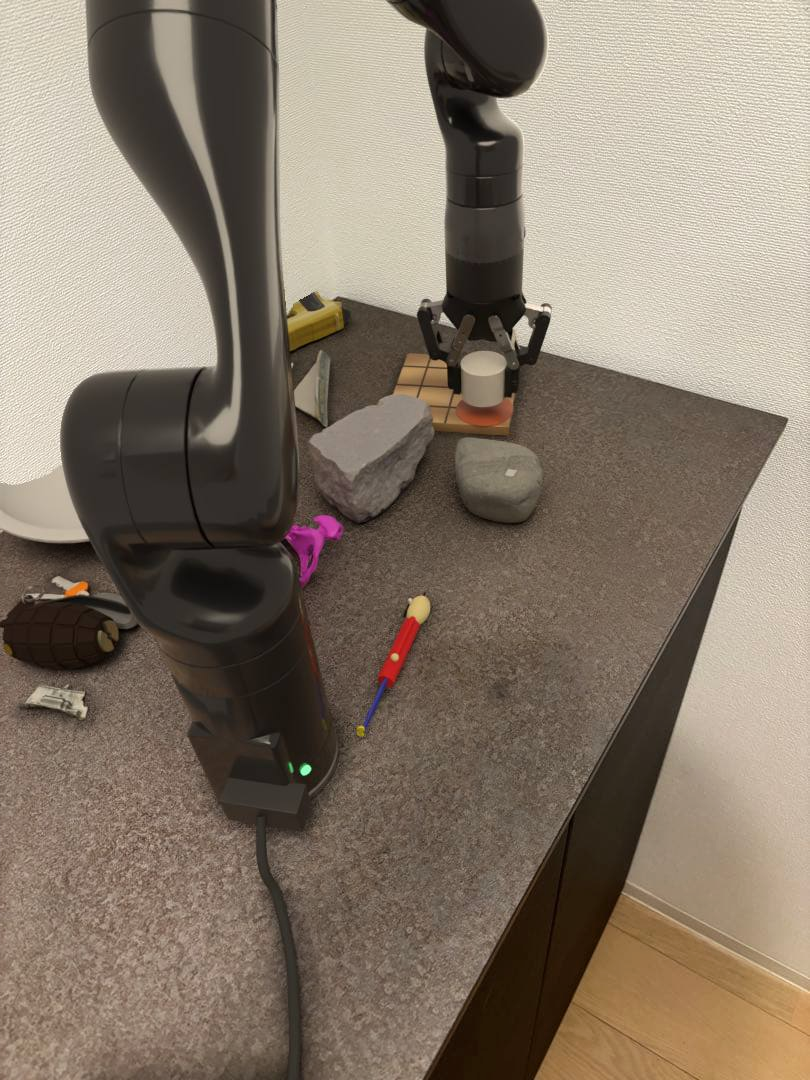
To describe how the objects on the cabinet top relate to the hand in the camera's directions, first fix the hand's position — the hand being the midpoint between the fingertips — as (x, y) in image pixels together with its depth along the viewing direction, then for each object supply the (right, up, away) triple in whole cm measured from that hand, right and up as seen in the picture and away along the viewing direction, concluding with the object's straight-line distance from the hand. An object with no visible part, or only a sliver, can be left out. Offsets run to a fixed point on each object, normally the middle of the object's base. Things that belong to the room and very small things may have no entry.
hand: (483, 391), depth 87 cm
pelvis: (-21, -20, -13) cm, 32 cm away
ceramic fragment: (-19, +1, +8) cm, 21 cm away
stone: (+1, -12, -7) cm, 14 cm away
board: (-3, +1, +6) cm, 7 cm away
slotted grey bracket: (-37, -30, -24) cm, 54 cm away
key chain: (-38, -21, -15) cm, 46 cm away
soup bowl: (-40, -11, -3) cm, 42 cm away
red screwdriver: (-6, -28, -23) cm, 36 cm away
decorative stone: (-12, -10, -4) cm, 16 cm away
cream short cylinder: (0, 0, 0) cm, 0 cm away
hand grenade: (-32, -24, -21) cm, 45 cm away
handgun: (-30, +15, +22) cm, 40 cm away
